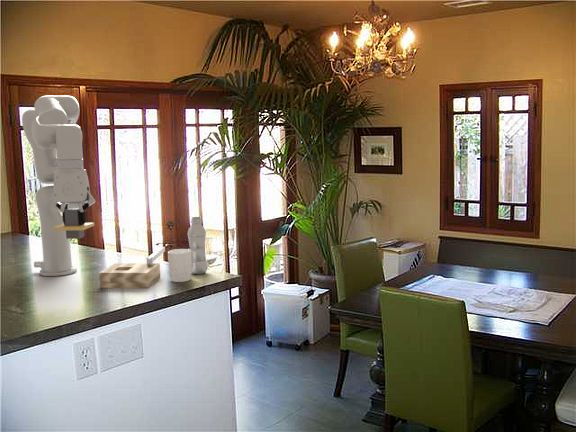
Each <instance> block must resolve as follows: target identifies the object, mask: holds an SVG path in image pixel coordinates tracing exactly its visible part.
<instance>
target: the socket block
mask: <svg viewBox="0 0 576 432" xmlns="http://www.w3.org/2000/svg"><path fill="white" fill-rule="evenodd" d="M98 277H99V288H100V289H109V288H110V289H149V287H151V286H152V285H154V283H155V282H157V281H158V280H159V279H160V278H161V265H160V263H157V262H156V263H155V262H153V266H147V262H146V263H145V262H143V263H137V262H134V263H127V262H125V263H120V262H119V263H118V262H117V263H113V264H112V265H109V266H108V267H107V268H105V269H103V270H101V271H99V272H98Z"/></svg>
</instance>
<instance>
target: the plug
mask: <svg viewBox="0 0 576 432" xmlns="http://www.w3.org/2000/svg"><path fill="white" fill-rule="evenodd" d="M64 211H65V225H64V224H62V225H59V226H56V227H54V231H56V230H66V239H70V240H72V239H73V240H74V239H75V240H76V239H78V240H79V239H82V238H84V237H85V230H87V229H90V228H92V227H94V226H96V225H95V222H85V224H83V225H79V220H78V212H79V208H69V209H65V210H64Z"/></svg>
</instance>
